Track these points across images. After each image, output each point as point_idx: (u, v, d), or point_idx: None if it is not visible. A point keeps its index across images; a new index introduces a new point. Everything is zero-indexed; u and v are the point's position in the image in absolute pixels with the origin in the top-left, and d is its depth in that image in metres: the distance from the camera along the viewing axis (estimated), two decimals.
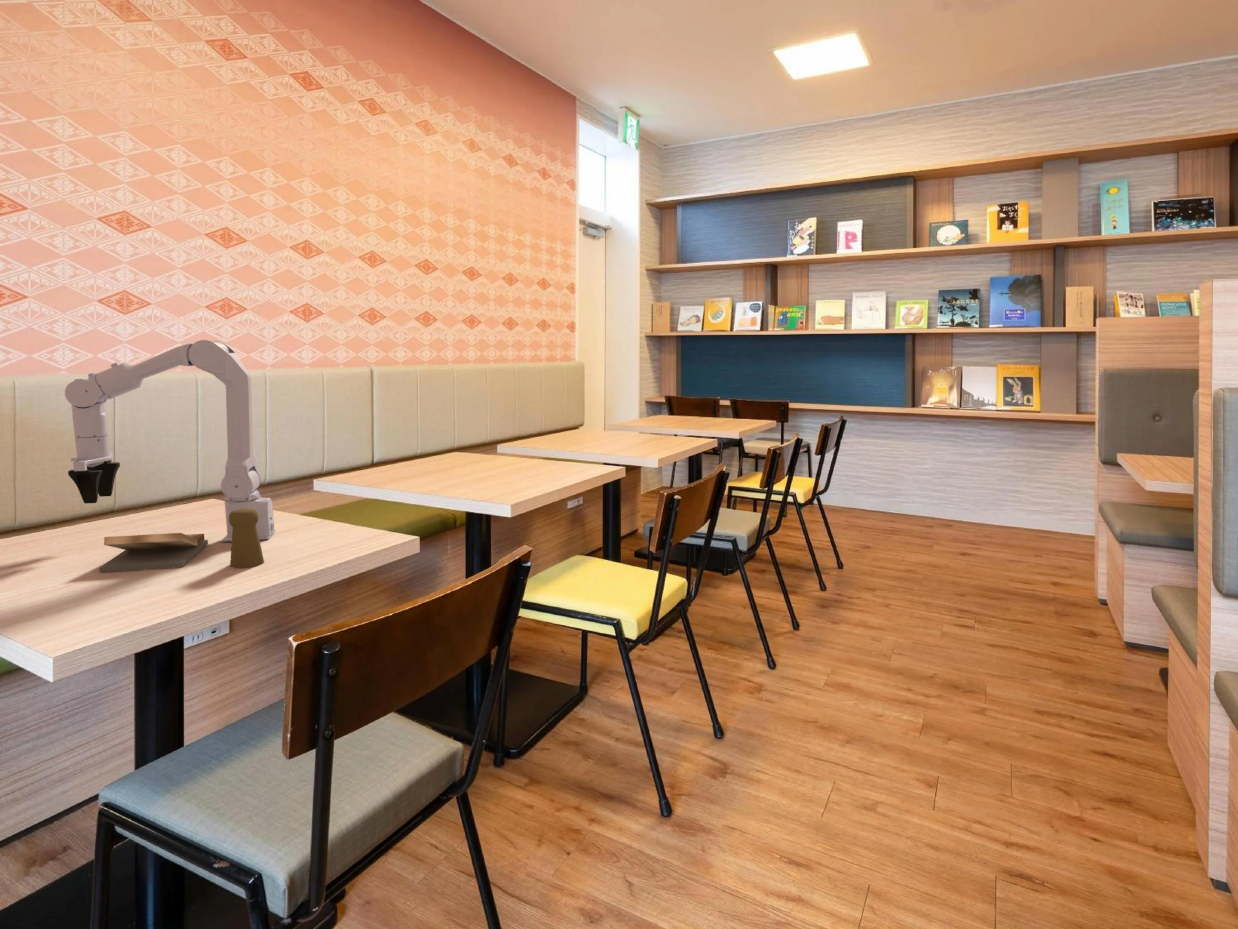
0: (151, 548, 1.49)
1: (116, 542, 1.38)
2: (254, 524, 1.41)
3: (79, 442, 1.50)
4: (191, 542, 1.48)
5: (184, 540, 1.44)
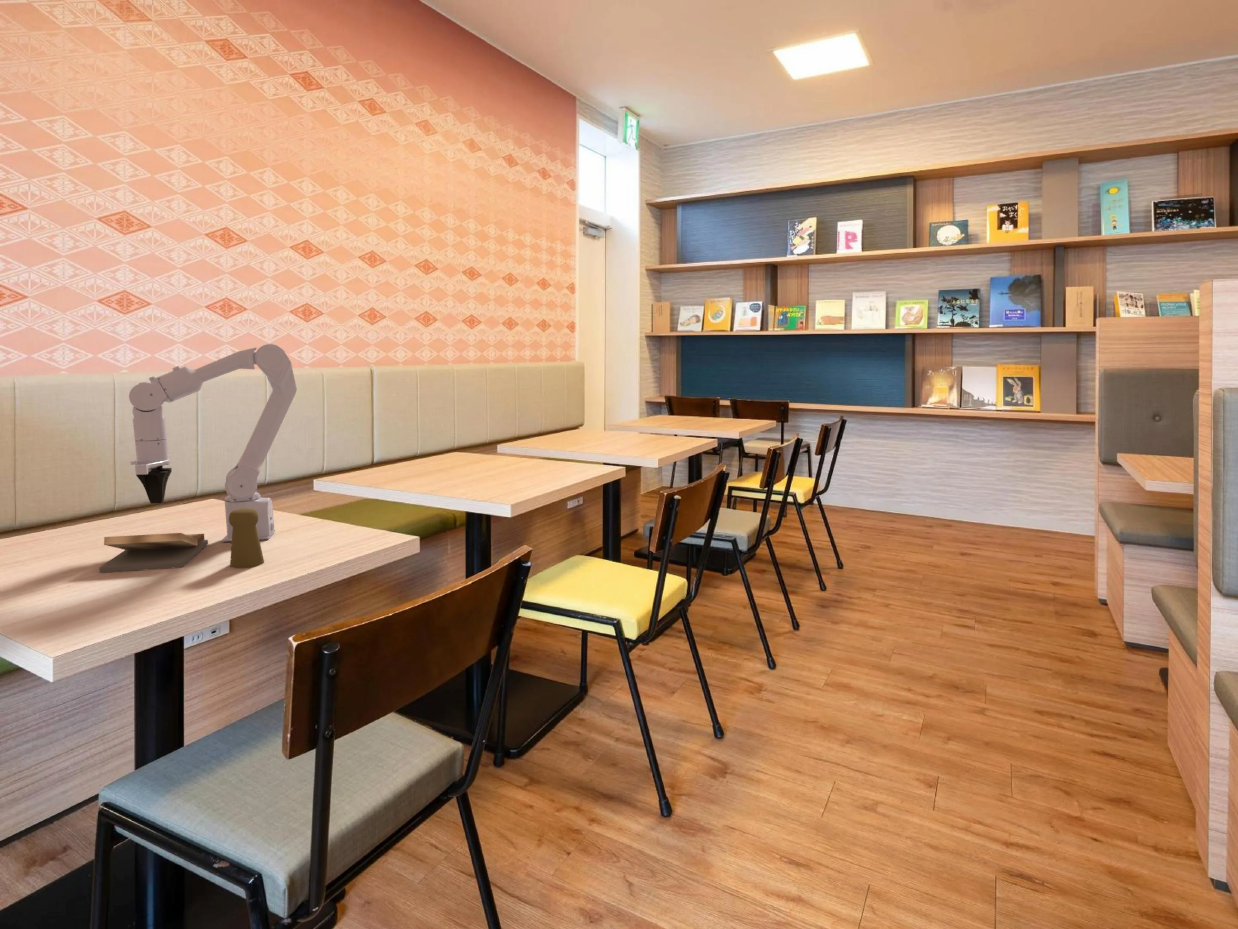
0: (151, 548, 1.49)
1: (116, 542, 1.38)
2: (254, 524, 1.41)
3: (140, 445, 1.50)
4: (191, 542, 1.48)
5: (184, 540, 1.44)
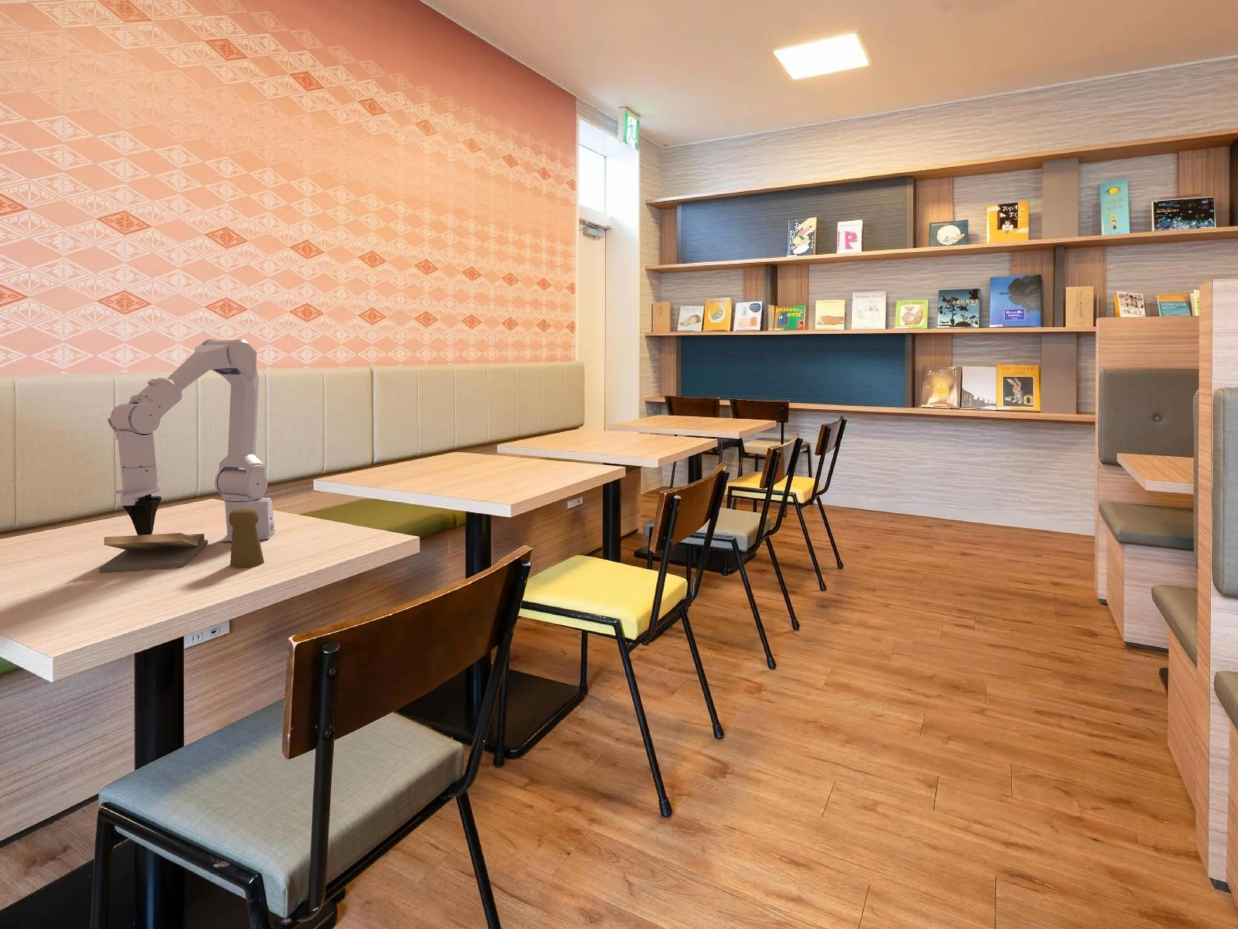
0: (151, 548, 1.49)
1: (116, 542, 1.38)
2: (254, 524, 1.41)
3: (126, 473, 1.36)
4: (191, 542, 1.48)
5: (184, 540, 1.44)
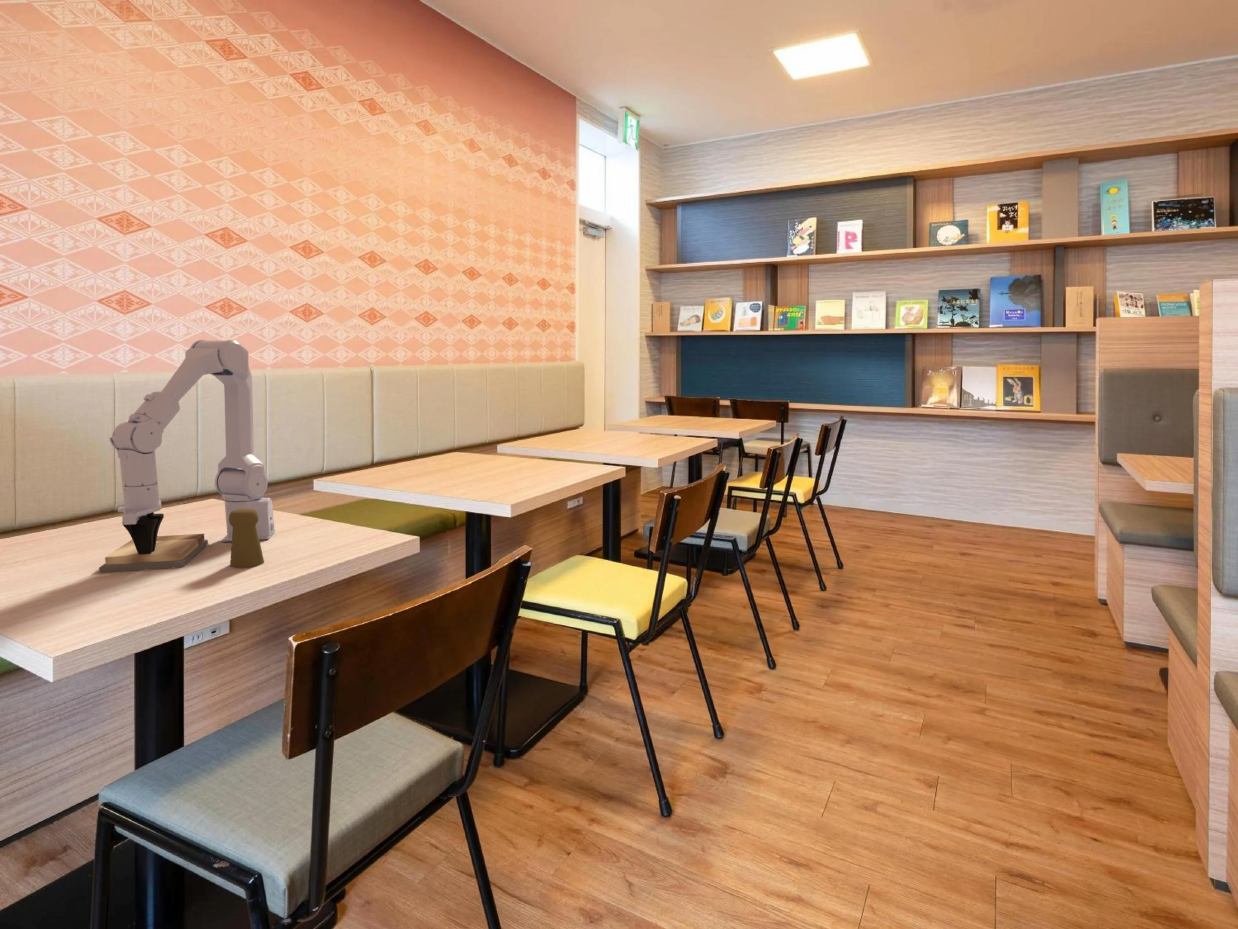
0: None
1: (118, 562, 1.39)
2: (254, 524, 1.41)
3: (128, 491, 1.37)
4: (192, 549, 1.48)
5: (185, 555, 1.44)
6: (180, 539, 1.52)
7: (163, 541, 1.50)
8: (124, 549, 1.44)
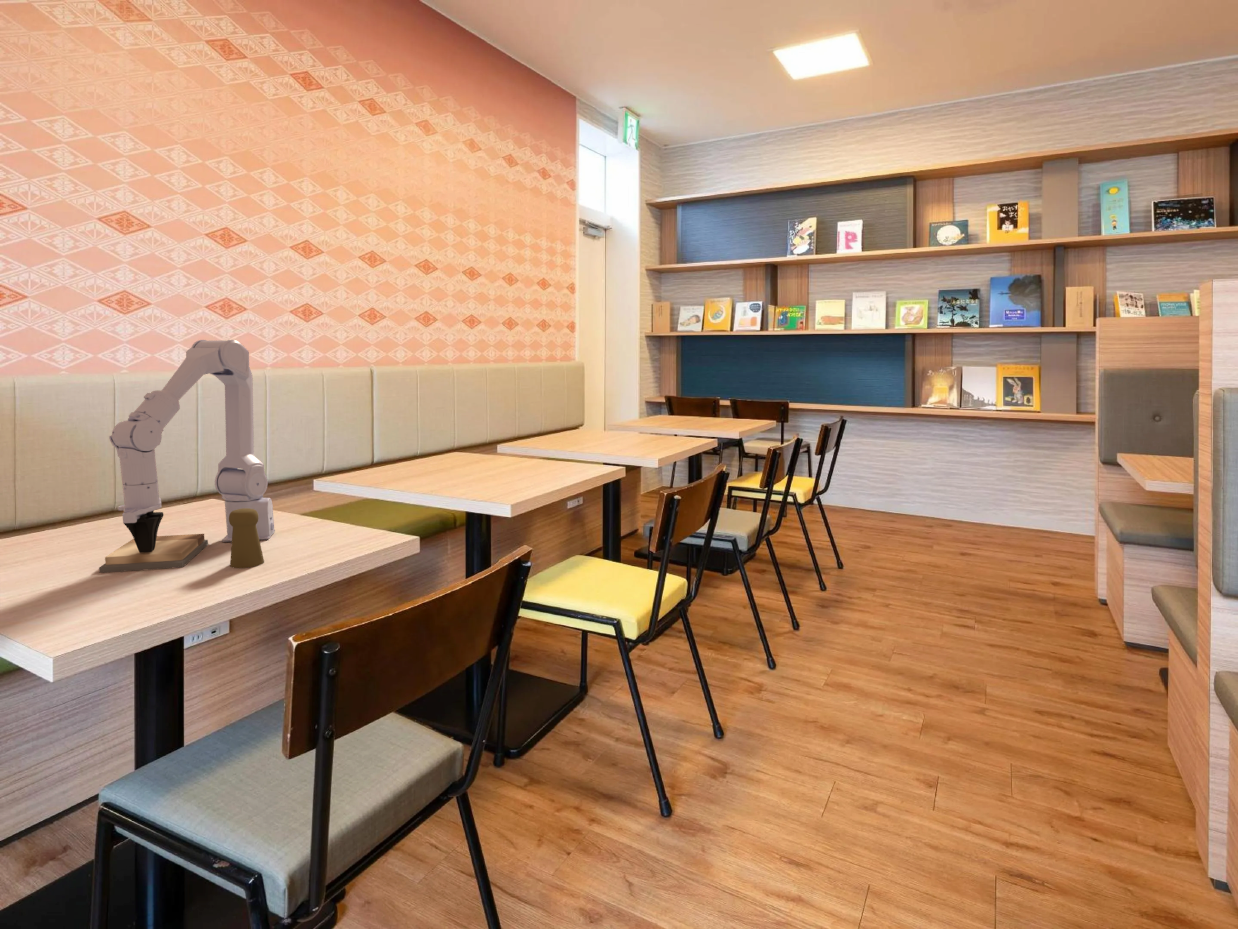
0: None
1: (118, 562, 1.39)
2: (254, 524, 1.41)
3: (128, 490, 1.37)
4: (192, 549, 1.48)
5: (185, 555, 1.44)
6: (180, 539, 1.52)
7: (163, 541, 1.50)
8: (124, 549, 1.44)
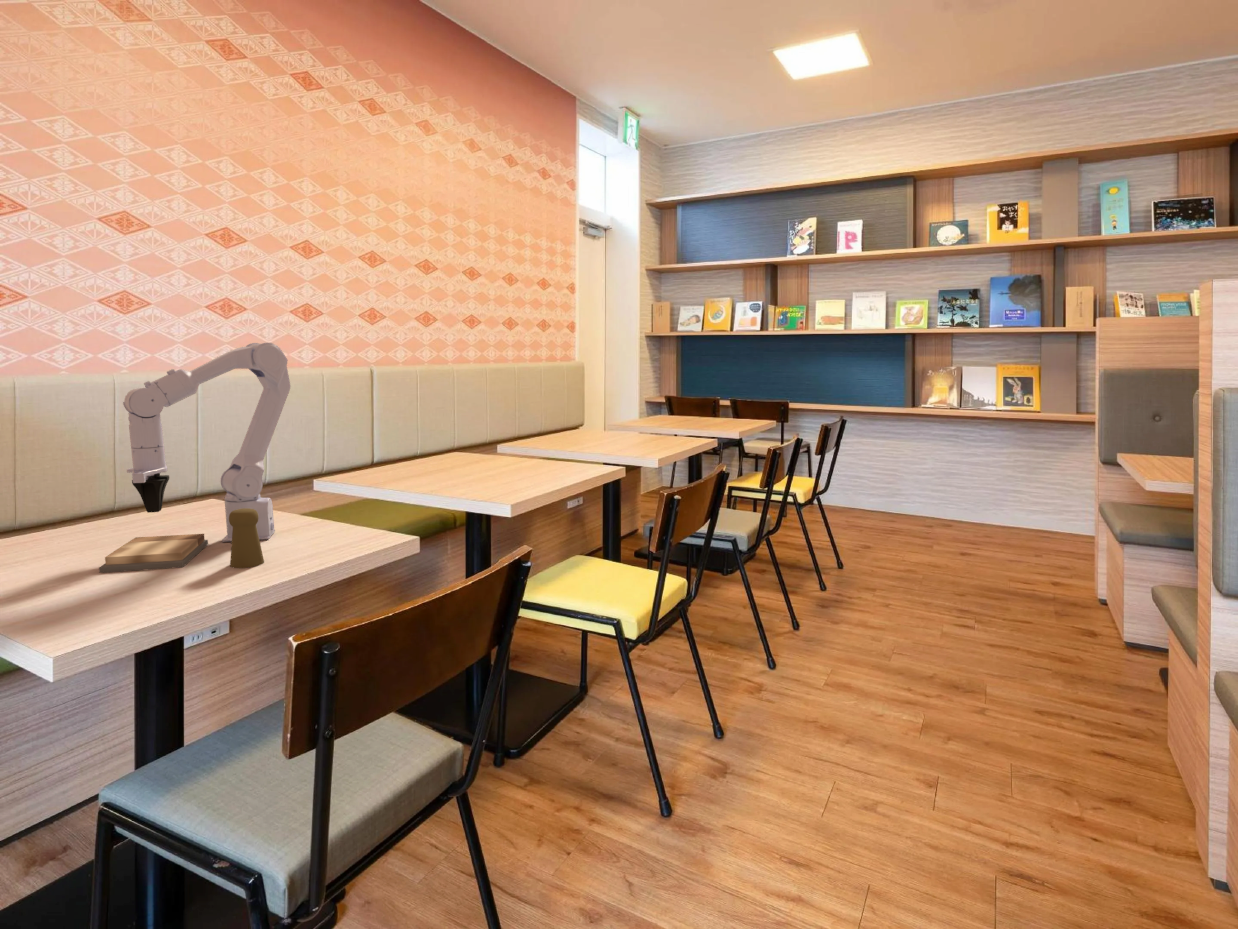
0: None
1: (118, 562, 1.39)
2: (254, 524, 1.41)
3: (136, 453, 1.46)
4: (192, 549, 1.48)
5: (185, 555, 1.44)
6: (180, 539, 1.52)
7: (163, 541, 1.50)
8: (124, 549, 1.44)
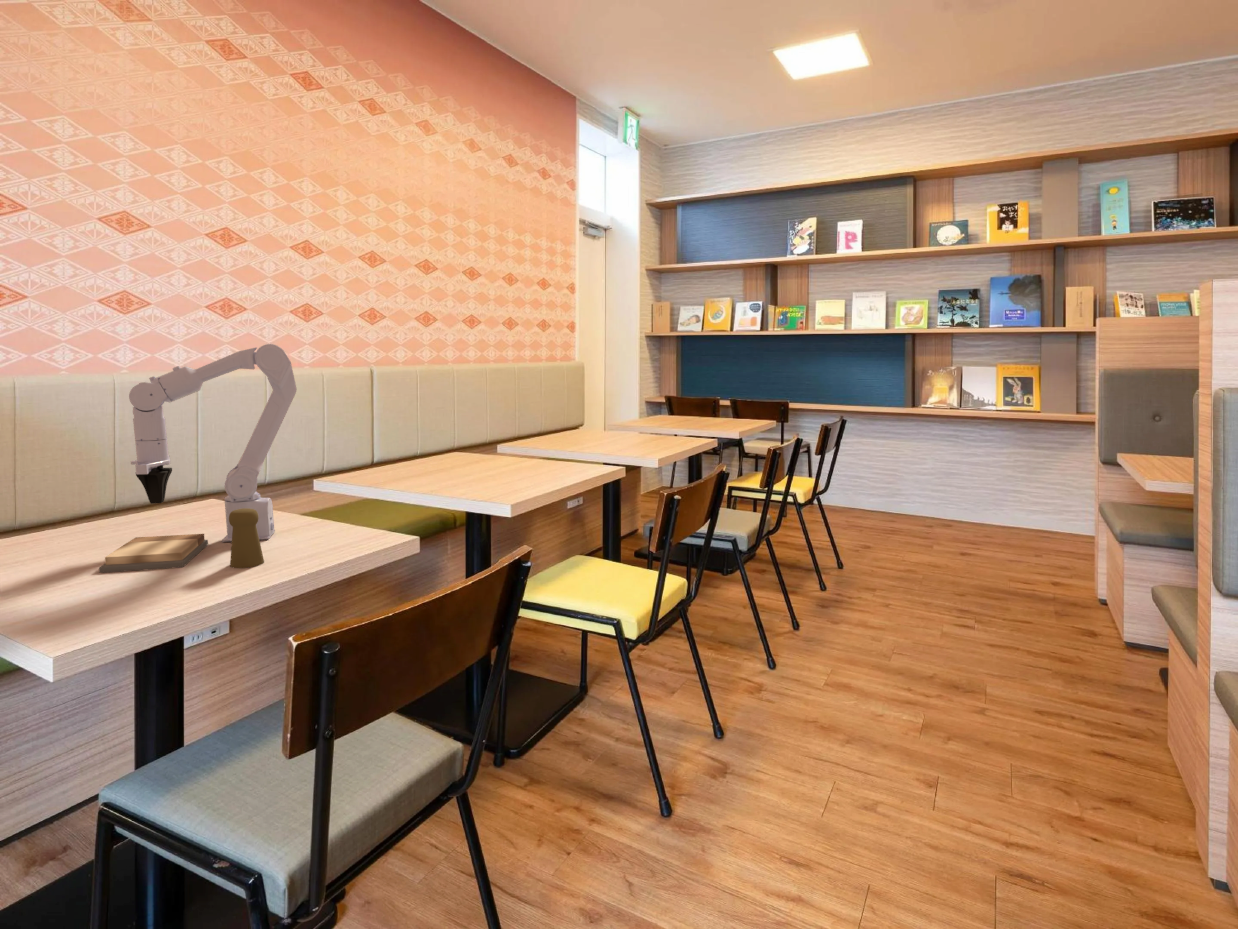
0: None
1: (118, 562, 1.39)
2: (254, 524, 1.41)
3: (140, 445, 1.50)
4: (192, 549, 1.48)
5: (185, 555, 1.44)
6: (180, 539, 1.52)
7: (163, 541, 1.50)
8: (124, 549, 1.44)
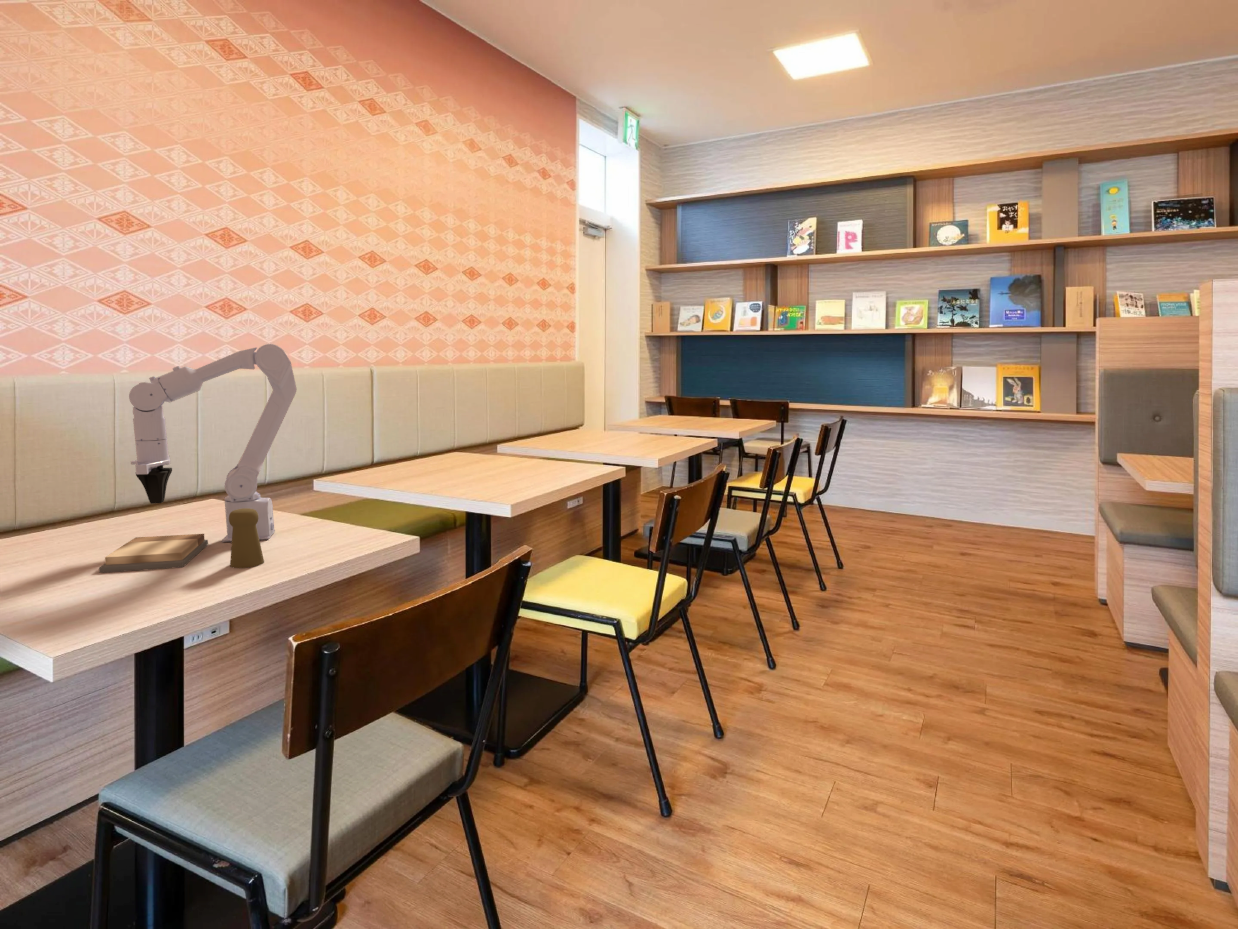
0: None
1: (118, 562, 1.39)
2: (254, 524, 1.41)
3: (140, 445, 1.50)
4: (192, 549, 1.48)
5: (185, 555, 1.44)
6: (180, 539, 1.52)
7: (163, 541, 1.50)
8: (124, 549, 1.44)
